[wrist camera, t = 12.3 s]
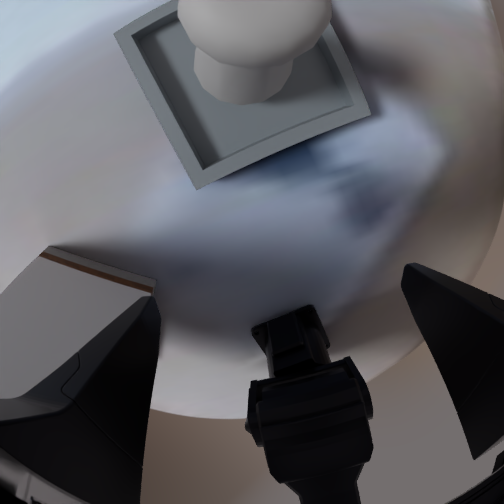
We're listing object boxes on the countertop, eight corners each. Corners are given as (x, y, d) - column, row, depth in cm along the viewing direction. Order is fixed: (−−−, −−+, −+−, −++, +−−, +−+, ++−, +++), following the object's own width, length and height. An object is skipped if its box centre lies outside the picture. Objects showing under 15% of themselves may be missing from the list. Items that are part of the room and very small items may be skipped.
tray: (357, 114, 19) (371, 114, 16) (200, 181, 21) (196, 190, 18) (284, -26, 13) (290, -39, 11) (125, 41, 15) (113, 33, 13)
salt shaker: (185, 49, 15) (115, -38, 4) (263, 19, 14) (308, -92, 3) (220, 120, 18) (194, 124, 6) (297, 89, 17) (400, 56, 5)
